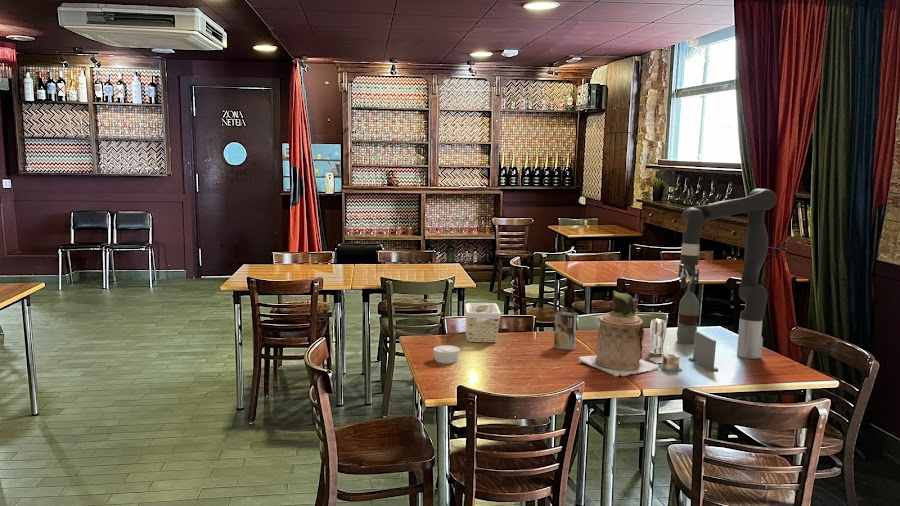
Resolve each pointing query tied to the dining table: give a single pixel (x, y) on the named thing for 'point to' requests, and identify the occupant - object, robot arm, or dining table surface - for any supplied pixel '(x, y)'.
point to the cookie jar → (620, 340)
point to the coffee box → (565, 330)
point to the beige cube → (670, 361)
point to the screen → (704, 351)
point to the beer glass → (657, 335)
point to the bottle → (688, 317)
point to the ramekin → (446, 354)
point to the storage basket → (482, 322)
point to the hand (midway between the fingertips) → (687, 289)
